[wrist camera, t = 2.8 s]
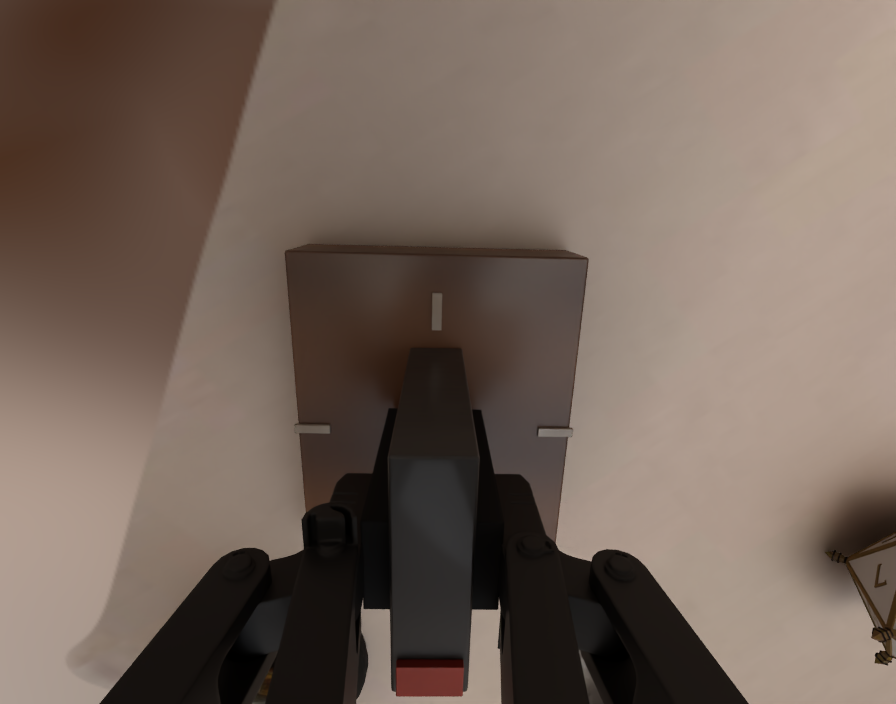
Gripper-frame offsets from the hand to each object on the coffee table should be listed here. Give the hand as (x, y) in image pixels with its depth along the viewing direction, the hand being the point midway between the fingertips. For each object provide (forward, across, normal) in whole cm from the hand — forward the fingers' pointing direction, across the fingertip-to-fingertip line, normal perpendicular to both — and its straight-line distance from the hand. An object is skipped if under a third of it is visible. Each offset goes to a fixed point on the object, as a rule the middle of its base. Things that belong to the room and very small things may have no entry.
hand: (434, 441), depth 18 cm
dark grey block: (+1, 0, 0) cm, 1 cm away
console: (+4, 0, 0) cm, 4 cm away
